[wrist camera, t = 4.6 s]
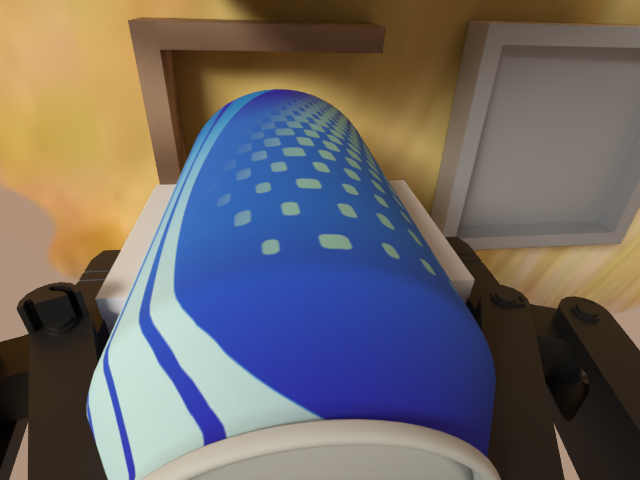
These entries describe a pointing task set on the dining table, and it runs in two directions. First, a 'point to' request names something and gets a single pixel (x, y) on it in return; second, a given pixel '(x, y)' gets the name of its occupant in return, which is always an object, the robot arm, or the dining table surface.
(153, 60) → the frame
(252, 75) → the dining table surface
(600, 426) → the robot arm
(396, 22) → the dining table surface
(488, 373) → the beer can
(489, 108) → the tray
